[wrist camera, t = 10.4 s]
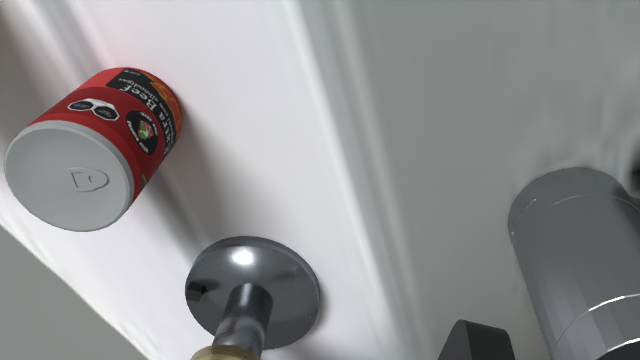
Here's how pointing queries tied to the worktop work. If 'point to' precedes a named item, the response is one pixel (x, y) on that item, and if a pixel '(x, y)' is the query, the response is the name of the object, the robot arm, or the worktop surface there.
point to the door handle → (224, 353)
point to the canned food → (94, 150)
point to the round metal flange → (252, 293)
